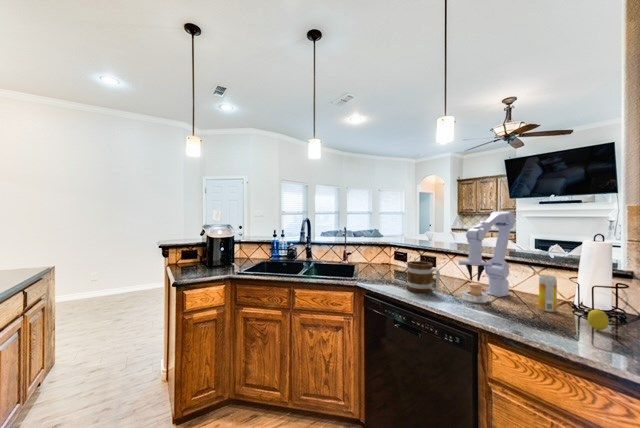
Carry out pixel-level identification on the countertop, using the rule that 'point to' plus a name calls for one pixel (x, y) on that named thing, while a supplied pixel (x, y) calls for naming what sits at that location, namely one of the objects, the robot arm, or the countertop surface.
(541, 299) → the beer can
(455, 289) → the countertop surface
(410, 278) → the mug
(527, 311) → the countertop surface
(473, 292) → the tan cup
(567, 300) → the countertop surface
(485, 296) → the round grey ashtray
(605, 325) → the lemon
